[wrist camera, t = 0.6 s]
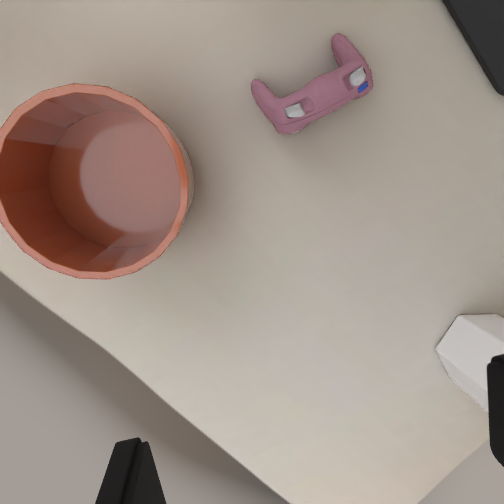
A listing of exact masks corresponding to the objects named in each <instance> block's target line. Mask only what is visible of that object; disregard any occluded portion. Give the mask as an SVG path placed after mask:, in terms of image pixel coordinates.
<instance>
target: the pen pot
mask: <svg viewBox="0 0 504 504" xmlns="http://www.w3.org/2000/svg"><path fill="white" fill-rule="evenodd" d="M193 175H194V174H193V170H192V166H191V162H190V159H189V156H188V153H187V151H186V149H185V148H184V146H183V144H182V143H181V141H180V140H179V138H178V137H177V135H176V134H175V132H174V131H173V130H172V129H171V128H170V127H169V126H168V125H167V124H166V123H165V122H163V121H162V120H161V119H160V118H159V117H158V116H157V115H155V114H154V113H153V112H152V111H151V110H149V109H148V108H147V107H146V106H145V105H144V104H142V103H141V102H140V101H139V100H137V99H135V98H133V97H130V96H128V95H126V94H123V93H121V92H119V91H116V90H114V89H112V88H109V87H106V86H97V85H86V84H76V83H75V84H69V85H65V86H61V87H56V88H52V89H48V90H44V91H41V92H40V93H38V94H37V95H35V96H34V97H32V98H30V99H29V100H27V101H26V102H24V103H23V104H21V105H20V106H18V107H17V108H16V109H15V110H14V111H13V112H12V114H11V115H10V116H9V118H8V119H7V121H6V122H5V123H4V125H3V126H2V127H1V129H0V222H1V224H2V226H3V227H4V228H5V230H6V231H7V232H8V233H9V235H10V236H11V237H12V238H13V240H14V241H15V242H16V243H17V245H18V246H19V247H20V248H21V249H22V250H23V251H24V252H25V253H27V254H28V255H30V256H31V257H32V258H34V259H35V260H37V261H38V262H40V263H41V264H42V265H44V266H45V267H47V268H49V269H52V270H54V271H57V272H60V273H63V274H66V275H69V276H72V277H75V278H83V279H111V278H115V277H119V276H123V275H127V274H130V273H134V272H137V271H138V270H140V269H141V268H143V267H144V266H146V265H148V264H149V263H151V262H152V261H154V260H155V259H157V258H159V256H161V255H162V253H163V252H164V251H165V250H166V249H167V247H168V246H169V245H170V244H171V242H172V241H173V240H174V239H175V237H176V236H177V235H178V233H179V231H180V229H181V227H182V225H183V223H184V221H185V218H186V216H187V213H188V210H189V208H190V205H191V202H192V200H193V188H194V176H193Z"/></svg>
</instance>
